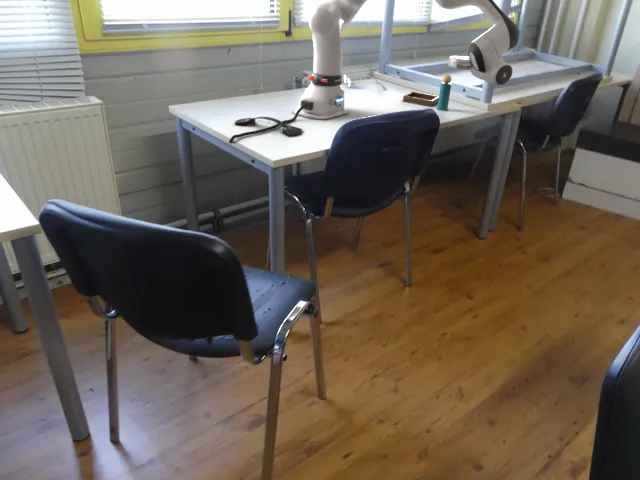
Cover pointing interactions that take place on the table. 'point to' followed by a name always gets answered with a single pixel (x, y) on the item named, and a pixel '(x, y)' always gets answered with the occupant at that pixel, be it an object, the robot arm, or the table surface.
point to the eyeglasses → (353, 81)
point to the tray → (421, 98)
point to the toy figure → (444, 93)
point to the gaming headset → (285, 128)
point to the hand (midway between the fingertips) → (465, 58)
